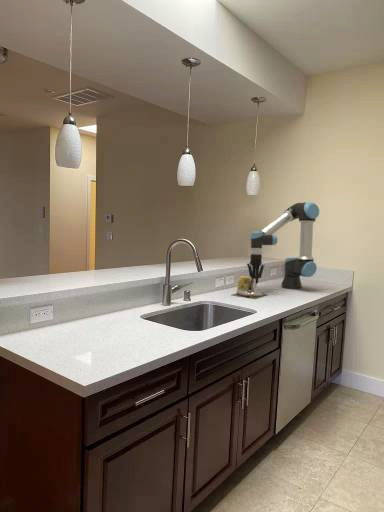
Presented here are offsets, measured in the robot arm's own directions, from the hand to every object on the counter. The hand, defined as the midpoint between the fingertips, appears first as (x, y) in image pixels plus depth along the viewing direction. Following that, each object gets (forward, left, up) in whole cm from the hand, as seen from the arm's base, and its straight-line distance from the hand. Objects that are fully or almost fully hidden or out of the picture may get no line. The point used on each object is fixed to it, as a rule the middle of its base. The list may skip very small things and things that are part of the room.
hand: (255, 287), depth 268 cm
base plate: (+7, 0, -4) cm, 8 cm away
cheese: (-9, -11, -5) cm, 15 cm away
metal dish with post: (+6, 0, -4) cm, 8 cm away
